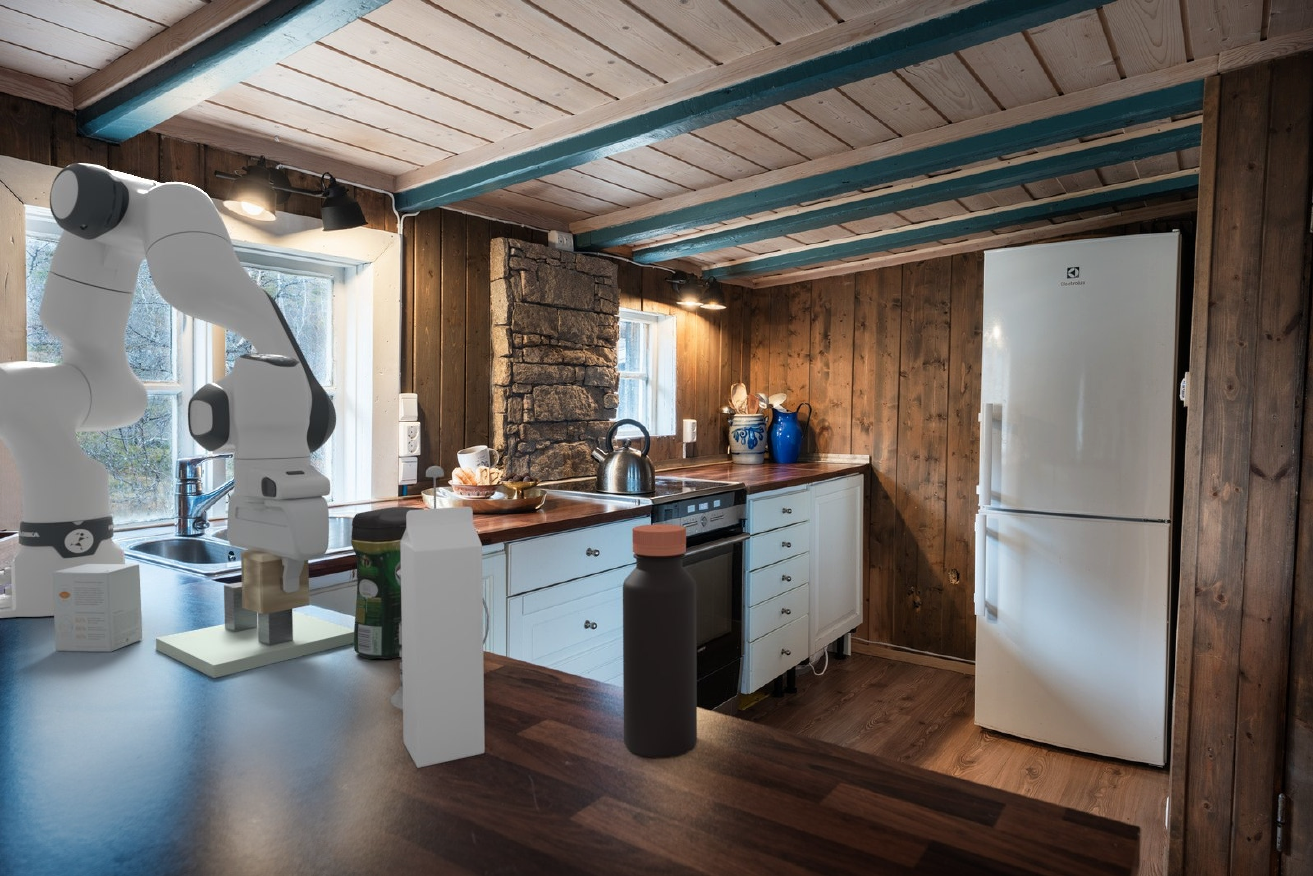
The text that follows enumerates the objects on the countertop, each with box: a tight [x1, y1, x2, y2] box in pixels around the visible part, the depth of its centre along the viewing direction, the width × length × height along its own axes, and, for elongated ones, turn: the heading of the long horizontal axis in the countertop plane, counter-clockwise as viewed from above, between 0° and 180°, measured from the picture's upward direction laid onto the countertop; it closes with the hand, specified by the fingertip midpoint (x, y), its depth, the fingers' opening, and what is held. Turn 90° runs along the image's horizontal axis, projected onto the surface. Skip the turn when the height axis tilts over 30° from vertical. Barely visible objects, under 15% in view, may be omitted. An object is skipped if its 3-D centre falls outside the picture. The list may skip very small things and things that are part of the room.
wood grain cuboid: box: [240, 549, 310, 615], centre depth 99 cm, size 6×6×7 cm
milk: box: [400, 506, 485, 769], centre depth 70 cm, size 6×6×22 cm
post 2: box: [257, 609, 293, 646], centre depth 99 cm, size 3×3×8 cm
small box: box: [52, 563, 143, 653], centre depth 103 cm, size 8×6×10 cm
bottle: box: [622, 523, 698, 759], centre depth 71 cm, size 7×7×20 cm
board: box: [155, 609, 354, 679], centre depth 102 cm, size 18×18×2 cm
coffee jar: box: [350, 506, 424, 660], centre depth 100 cm, size 10×8×19 cm
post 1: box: [223, 581, 258, 632], centre depth 105 cm, size 3×3×8 cm
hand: (276, 587), depth 99 cm, fingers closed on wood grain cuboid, 6 cm apart
